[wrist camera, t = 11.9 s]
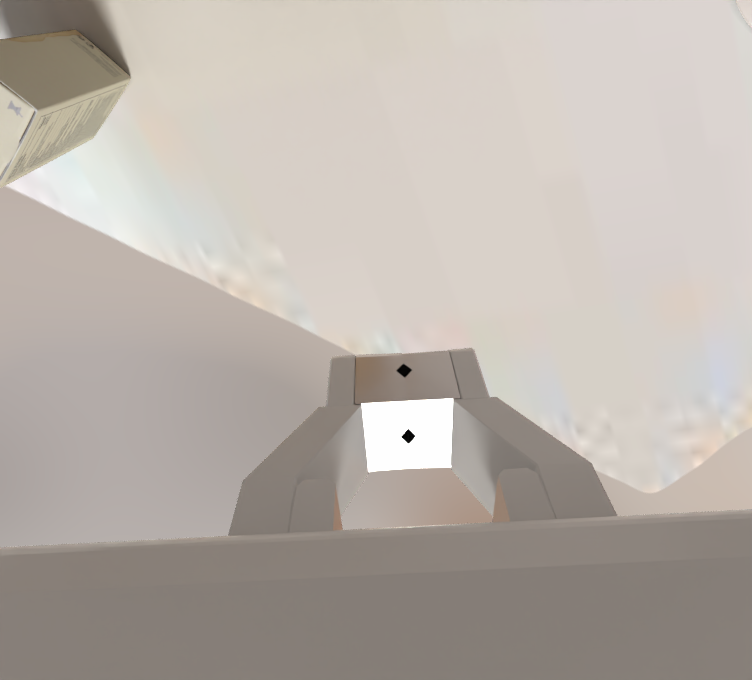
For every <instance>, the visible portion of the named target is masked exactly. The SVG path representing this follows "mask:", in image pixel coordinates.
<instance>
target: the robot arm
mask: <svg viewBox="0 0 752 680" xmlns="http://www.w3.org/2000/svg"><path fill="white" fill-rule="evenodd" d="M736 3H737V5H738V8H739V10H740V12H741V14H742V16H743V17H744V19H745V20H746V22H747V23H748V24H749V26H750V27H751V28H752V0H736ZM428 467H429V468H431V467H451V470H452V471H453V472H454V473H455V474H456V475H457V477H458V478H459V479H460V480H461V481H462V482H463V483H464V484H465V486H467V488H468V489H469V490H470V491H471V492H472V493H473V495H474V496H475V497H476V498H477V499H478V500H479V501H480V502H481V504H482V505H483V506H484V507H485V508H486V509H487V510H488V512H489V513H490V514H491V515H492V516H493V519H492V522H490V523H470V524H453V525H452V524H450V525H431V526H411V527H392V528H373V529H353V530H343V528H342V522H341V516H342V514H343V513H344V511H345V510H346V508H347V507H348V505H349V504H350V502H351V500H352V499H353V497H354V496H355V494H356V493H357V491H358V489H359V488H360V486H361V485H362V483H363V482H364V480H365V479H366V477H367V475H368V474H369V471H377V470H378V471H379V470H391V469H404V468H428ZM0 680H752V509H747V510H727V511H710V512H709V511H708V512H689V513H670V514H651V515H632V516H617V514H616V512H615V510H614V508H613V506H612V504H611V502H610V500H609V498H608V496H607V494H606V492H605V490H604V488H603V486H602V484H601V482H600V480H599V478H598V476H597V474H596V472H595V470H594V467H593V465H592V463H590V462H589V461H587V460H586V459H585V458H583V457H582V456H580V455H579V454H577V453H576V452H575V451H573V450H572V449H570V448H569V447H567V446H566V445H565V444H563V443H562V442H560V441H559V440H557V439H556V438H555V437H553V436H552V435H550V434H549V433H547V432H546V431H545V430H543V429H542V428H540V427H539V426H537V425H536V424H535V423H533V422H532V421H530V420H529V419H527V418H526V417H525V416H523V415H522V414H520V413H519V412H517V411H516V410H514V409H513V408H512V407H510V406H509V405H507V404H506V403H504V402H503V401H502V400H500V399H499V398H497V397H489V394H488V391H487V388H486V384H485V381H484V378H483V375H482V372H481V369H480V366H479V363H478V360H477V357H476V354H475V351H474V350H473V349H472V348H464V349H453V350H448V351H435V352H420V353H404V354H402V353H394V354H366V355H356V356H355V355H345V356H333V357H332V358H331V361H330V371H329V381H328V390H327V400H326V407H319V408H317V410H315V411H314V412H313V413H312V414H311V415H310V416H309V417H308V418H307V419H306V420H305V421H304V422H303V423H302V424H301V425H300V426H299V427H298V428H297V429H296V430H295V431H294V432H293V433H292V434H291V435H290V436H289V437H288V438H287V439H285V440H284V441H283V442H282V443H281V444H280V445H279V446H278V447H277V449H275V450H274V451H273V452H272V453H271V454H270V455H269V456H268V457H267V458H266V459H265V460H264V461H263V462H262V463H261V464H260V465H259V466H258V467H257V468H256V469H255V470H254V471H253V472H252V473H250V474H249V475H248V476H247V477H246V478H245V479H244V480H243V482H242V486H241V489H240V493H239V497H238V501H237V504H236V508H235V512H234V516H233V520H232V523H231V527H230V531H229V534H228V536H218V537H217V536H216V537H196V538H176V539H158V540H137V541H117V542H98V543H78V544H58V545H39V546H19V547H0Z"/></svg>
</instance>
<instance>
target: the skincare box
mask: <svg viewBox="0 0 752 680" xmlns="http://www.w3.org/2000/svg"><path fill="white" fill-rule="evenodd" d="M130 79H131V78H130V76H129V75H128V74H127V73H126V72H124V71H123V70H122V69H121V68H120V67H119V66H118V65H117V64H116V63H115V62H113V61H112V60H111V59H110V58H109V57H108V56H107V55H105V54H104V53H103V52H102V51H101V50H100V49H98V48H97V47H96V46H95V45H94V44H93V43H91V42H90V41H89V40H88V39H87V38H85V37H84V36H83V35H82V34H81V33H79V32H78V31H77V30H68V31H60V32H53V33H45V34H38V35H30V36H22V37H15V38H7V39H0V188H2V187H3V186H6V185H7V184H9V183H11V182H13V181H15V180H17V179H19V178H20V177H22V176H24V175H26V174H28V173H30V172H31V171H33V170H35V169H37V168H39V167H41V166H43V165H45V164H47V163H48V162H50V161H52V160H54V159H56V158H58V157H59V156H61V155H63V154H65V153H67V152H69V151H71V150H72V149H74V148H76V147H78V146H80V145H82V144H84V143H86V142H87V141H89V140H91V139H93V138H94V136H95V135H96V133H97V132H98V130H99V129H100V127H101V126H102V124H103V123H104V121H105V120H106V118H107V117H108V115H109V114H110V112H111V111H112V109H113V107H114V106H115V104H116V103H117V101H118V100H119V98H120V96H121V95H122V93H123V91H124V90H125V88H126V86H127V84H128V83H129V81H130Z"/></svg>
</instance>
